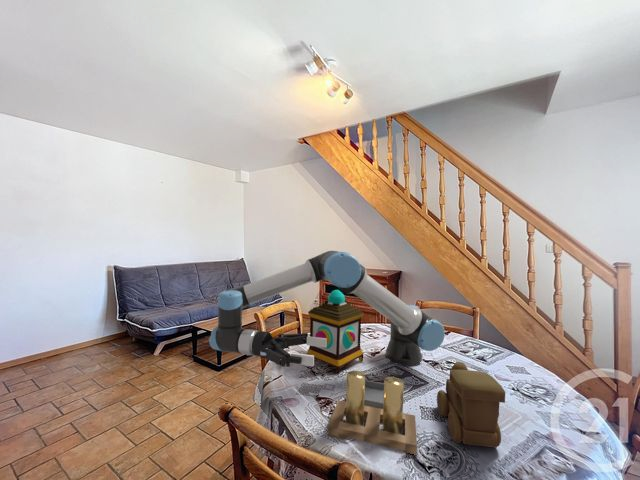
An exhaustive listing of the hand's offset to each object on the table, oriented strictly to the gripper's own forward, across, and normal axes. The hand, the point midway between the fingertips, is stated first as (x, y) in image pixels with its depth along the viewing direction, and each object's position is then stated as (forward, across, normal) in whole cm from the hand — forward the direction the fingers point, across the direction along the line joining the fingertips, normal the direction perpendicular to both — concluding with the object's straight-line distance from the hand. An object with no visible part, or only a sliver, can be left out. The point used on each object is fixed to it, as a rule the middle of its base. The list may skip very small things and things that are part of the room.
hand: (320, 351), depth 84 cm
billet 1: (+11, +4, -18) cm, 21 cm away
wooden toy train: (+40, -4, -19) cm, 45 cm away
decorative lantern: (-3, -33, -18) cm, 38 cm away
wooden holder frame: (+16, +4, -18) cm, 24 cm away
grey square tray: (+16, -11, -18) cm, 27 cm away
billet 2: (+21, +4, -18) cm, 28 cm away
